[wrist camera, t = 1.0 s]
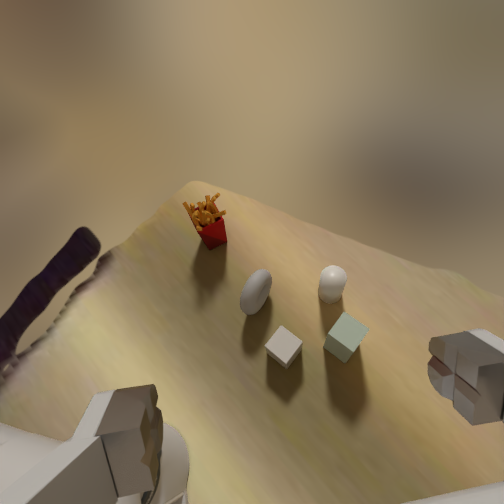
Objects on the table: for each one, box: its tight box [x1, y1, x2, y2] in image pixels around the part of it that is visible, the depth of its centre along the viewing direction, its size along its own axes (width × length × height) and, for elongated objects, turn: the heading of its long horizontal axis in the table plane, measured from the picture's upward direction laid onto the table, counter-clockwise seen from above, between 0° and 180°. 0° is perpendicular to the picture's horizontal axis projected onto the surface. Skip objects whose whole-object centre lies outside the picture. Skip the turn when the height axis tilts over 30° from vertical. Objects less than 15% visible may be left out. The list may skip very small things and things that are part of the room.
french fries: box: [183, 193, 227, 250], centre depth 72 cm, size 9×8×15 cm
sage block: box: [323, 312, 369, 363], centre depth 58 cm, size 5×5×10 cm
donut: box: [240, 269, 272, 315], centre depth 65 cm, size 10×4×10 cm, turn 151°
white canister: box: [318, 265, 347, 304], centre depth 65 cm, size 5×5×8 cm
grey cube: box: [265, 325, 303, 369], centre depth 60 cm, size 5×5×6 cm
